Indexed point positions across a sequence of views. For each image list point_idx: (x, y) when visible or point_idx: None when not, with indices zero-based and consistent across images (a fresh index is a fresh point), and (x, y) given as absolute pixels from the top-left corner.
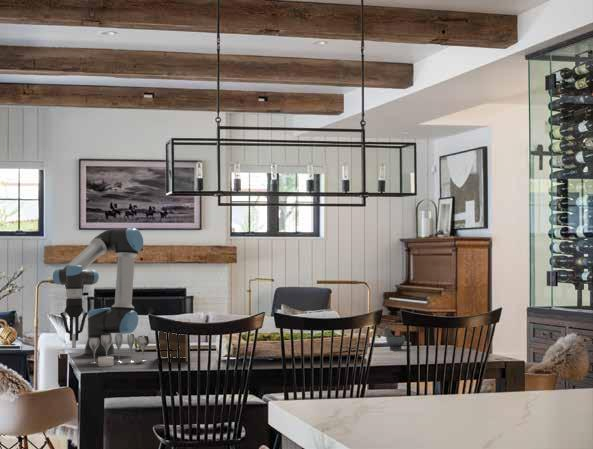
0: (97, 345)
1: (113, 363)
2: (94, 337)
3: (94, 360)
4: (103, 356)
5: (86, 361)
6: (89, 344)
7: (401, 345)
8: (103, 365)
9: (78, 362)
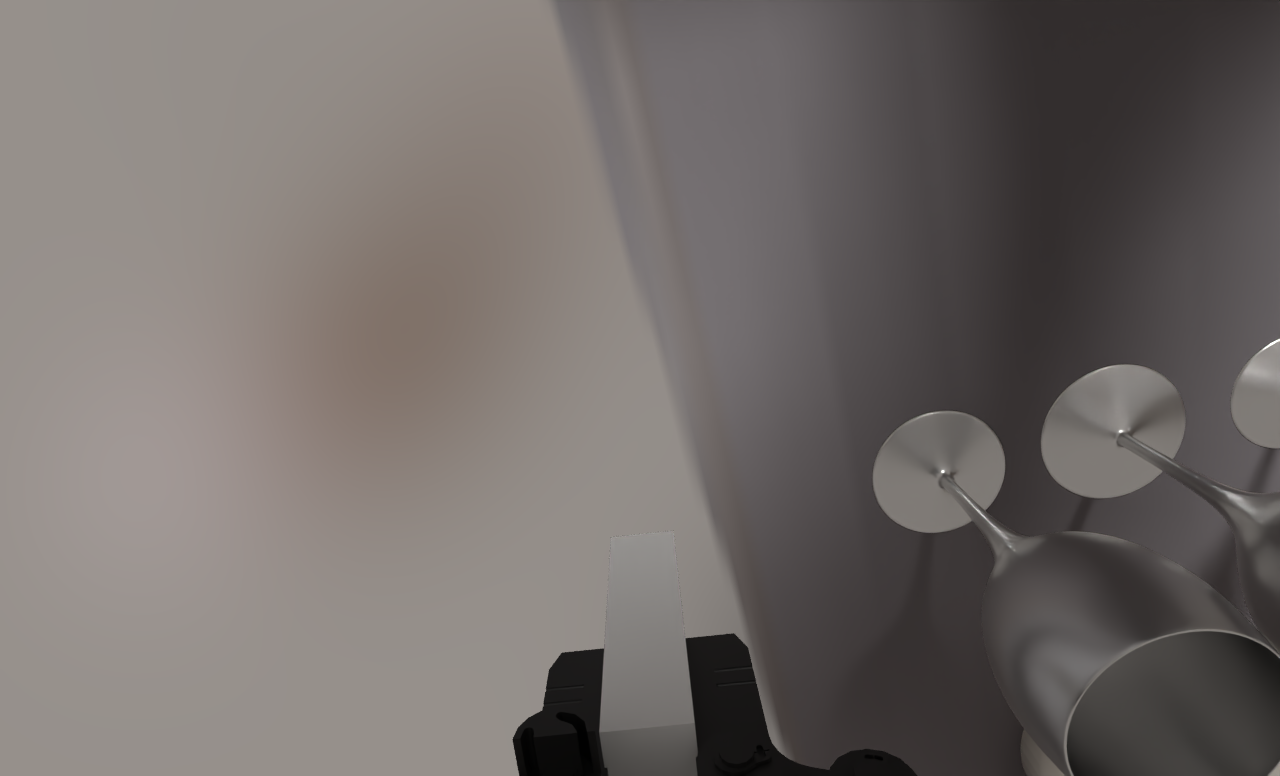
0: (1144, 659)
1: None
2: (1182, 631)
3: (955, 491)
4: None
5: (790, 285)
6: (987, 653)
7: None
8: None
9: (694, 407)
